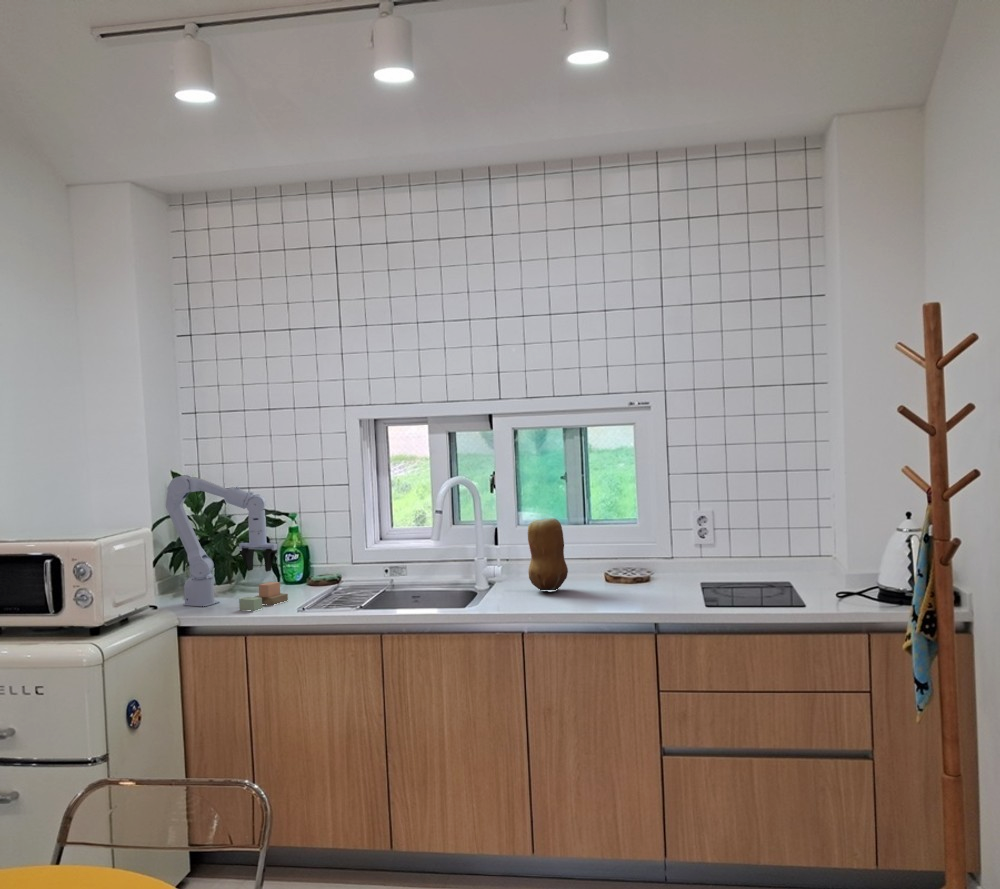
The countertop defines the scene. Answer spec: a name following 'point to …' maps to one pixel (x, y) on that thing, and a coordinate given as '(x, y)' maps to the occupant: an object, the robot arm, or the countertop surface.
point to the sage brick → (250, 603)
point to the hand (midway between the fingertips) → (259, 570)
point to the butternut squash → (546, 554)
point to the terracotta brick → (269, 589)
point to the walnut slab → (274, 599)
